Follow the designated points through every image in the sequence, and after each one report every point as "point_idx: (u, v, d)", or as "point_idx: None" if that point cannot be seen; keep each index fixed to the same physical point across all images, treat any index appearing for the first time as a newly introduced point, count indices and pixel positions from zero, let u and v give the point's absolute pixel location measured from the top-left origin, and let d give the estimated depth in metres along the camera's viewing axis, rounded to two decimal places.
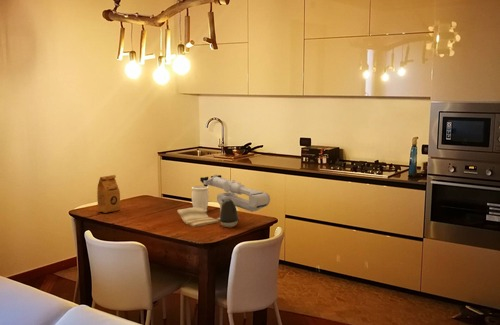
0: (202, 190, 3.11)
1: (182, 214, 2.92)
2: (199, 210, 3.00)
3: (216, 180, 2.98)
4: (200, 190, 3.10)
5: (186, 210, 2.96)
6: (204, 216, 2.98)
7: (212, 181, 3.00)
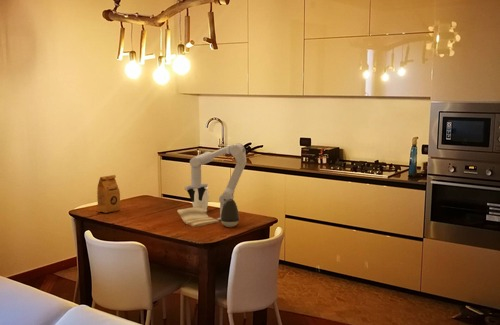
0: None
1: (182, 214, 2.92)
2: (199, 210, 3.00)
3: (191, 178, 2.98)
4: None
5: (186, 210, 2.96)
6: (204, 216, 2.98)
7: (191, 184, 2.97)
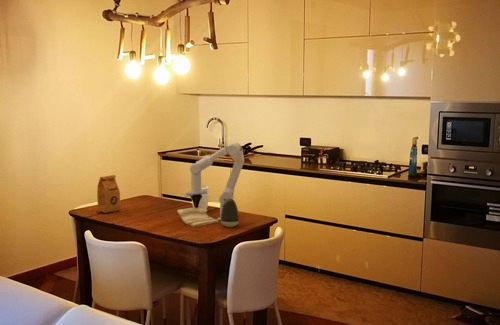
0: None
1: (182, 214, 2.92)
2: (199, 210, 3.00)
3: (191, 185, 2.98)
4: None
5: (186, 210, 2.96)
6: (204, 216, 2.98)
7: (191, 190, 2.98)
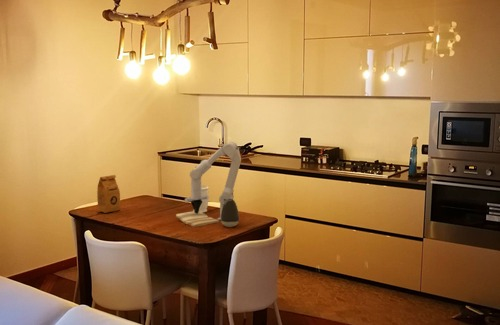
0: (202, 190, 3.11)
1: (181, 216, 2.93)
2: (198, 213, 3.01)
3: (191, 190, 2.99)
4: None
5: (185, 214, 2.97)
6: (203, 216, 2.98)
7: (191, 196, 2.98)
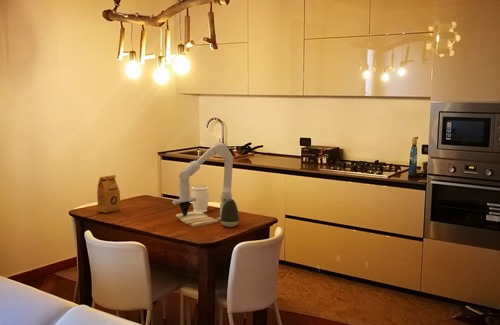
0: (202, 190, 3.11)
1: (181, 216, 2.93)
2: (198, 213, 3.01)
3: (179, 192, 2.94)
4: (200, 190, 3.10)
5: None
6: (203, 216, 2.98)
7: (179, 198, 2.93)
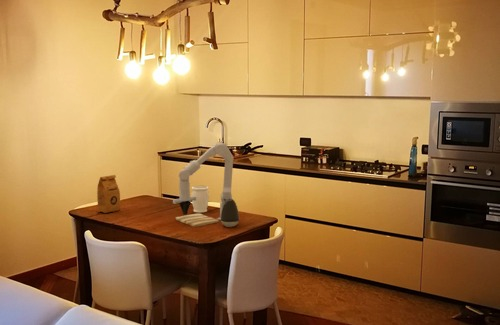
0: (202, 190, 3.11)
1: (180, 218, 2.93)
2: (197, 215, 3.02)
3: (179, 192, 2.93)
4: (200, 190, 3.10)
5: (184, 216, 2.98)
6: (203, 216, 2.98)
7: (180, 197, 2.93)
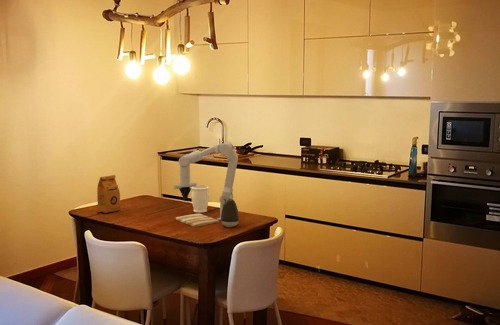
0: (202, 190, 3.11)
1: (180, 218, 2.93)
2: (197, 215, 3.02)
3: None
4: (200, 190, 3.10)
5: (184, 216, 2.98)
6: (203, 216, 2.98)
7: (180, 183, 2.97)
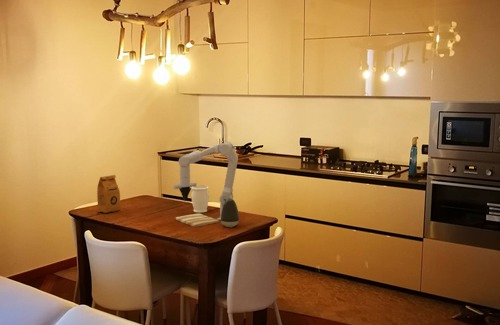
0: (202, 190, 3.11)
1: (180, 218, 2.93)
2: (197, 215, 3.02)
3: (180, 177, 2.97)
4: (200, 190, 3.10)
5: (184, 216, 2.98)
6: (203, 216, 2.98)
7: (180, 183, 2.97)
